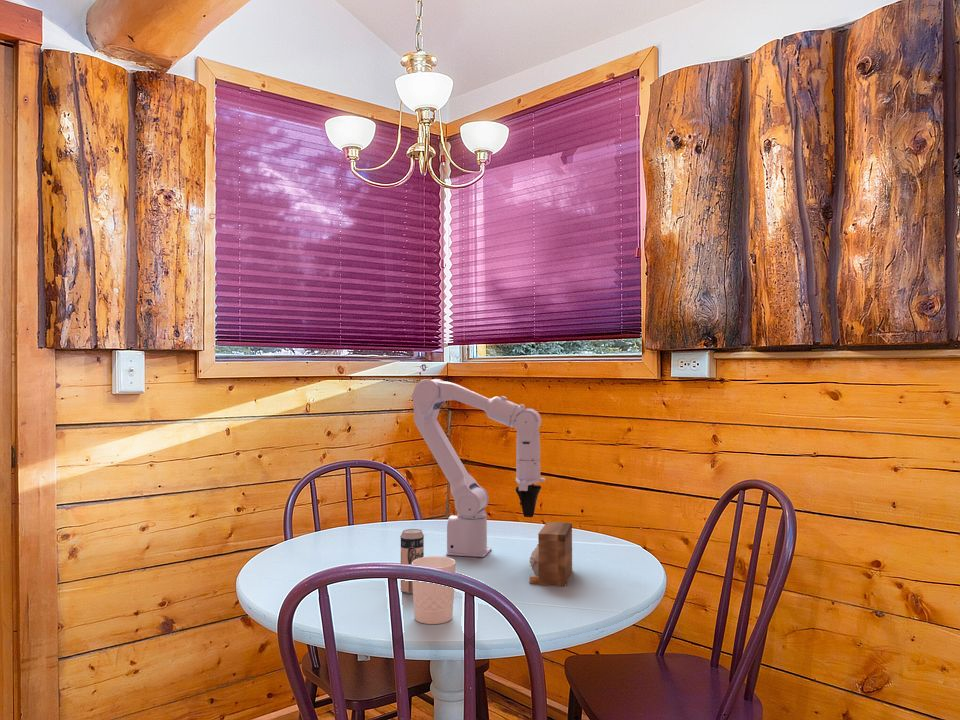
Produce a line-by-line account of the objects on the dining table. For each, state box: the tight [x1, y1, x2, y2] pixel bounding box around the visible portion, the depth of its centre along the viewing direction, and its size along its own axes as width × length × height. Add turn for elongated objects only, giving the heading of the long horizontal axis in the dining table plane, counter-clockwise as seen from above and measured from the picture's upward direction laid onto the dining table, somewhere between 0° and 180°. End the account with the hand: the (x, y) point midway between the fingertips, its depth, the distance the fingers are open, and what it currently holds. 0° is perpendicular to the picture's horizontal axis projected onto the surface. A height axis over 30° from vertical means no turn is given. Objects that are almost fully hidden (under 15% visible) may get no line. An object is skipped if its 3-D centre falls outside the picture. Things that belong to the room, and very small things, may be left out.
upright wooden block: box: [529, 521, 573, 587], centre depth 152 cm, size 8×12×10 cm, turn 166°
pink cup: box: [412, 555, 457, 625], centre depth 127 cm, size 8×8×10 cm
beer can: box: [399, 528, 425, 595], centre depth 143 cm, size 5×5×12 cm
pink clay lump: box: [529, 544, 539, 576], centre depth 152 cm, size 6×7×7 cm
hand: (528, 516), depth 169 cm, fingers closed
